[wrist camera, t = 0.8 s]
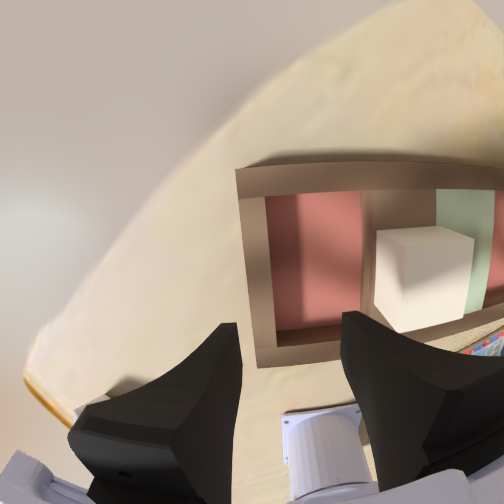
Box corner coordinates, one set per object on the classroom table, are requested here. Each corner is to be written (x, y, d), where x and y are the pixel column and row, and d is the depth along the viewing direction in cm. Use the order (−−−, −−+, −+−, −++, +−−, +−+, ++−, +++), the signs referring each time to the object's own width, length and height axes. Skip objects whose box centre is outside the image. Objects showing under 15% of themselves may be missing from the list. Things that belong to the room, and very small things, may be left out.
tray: (510, 300, 20) (523, 309, 18) (257, 349, 22) (257, 368, 19) (522, 172, 17) (538, 174, 14) (238, 170, 18) (235, 169, 16)
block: (432, 293, 17) (462, 318, 13) (373, 303, 18) (397, 333, 14) (438, 225, 16) (474, 239, 12) (376, 230, 16) (406, 246, 12)
